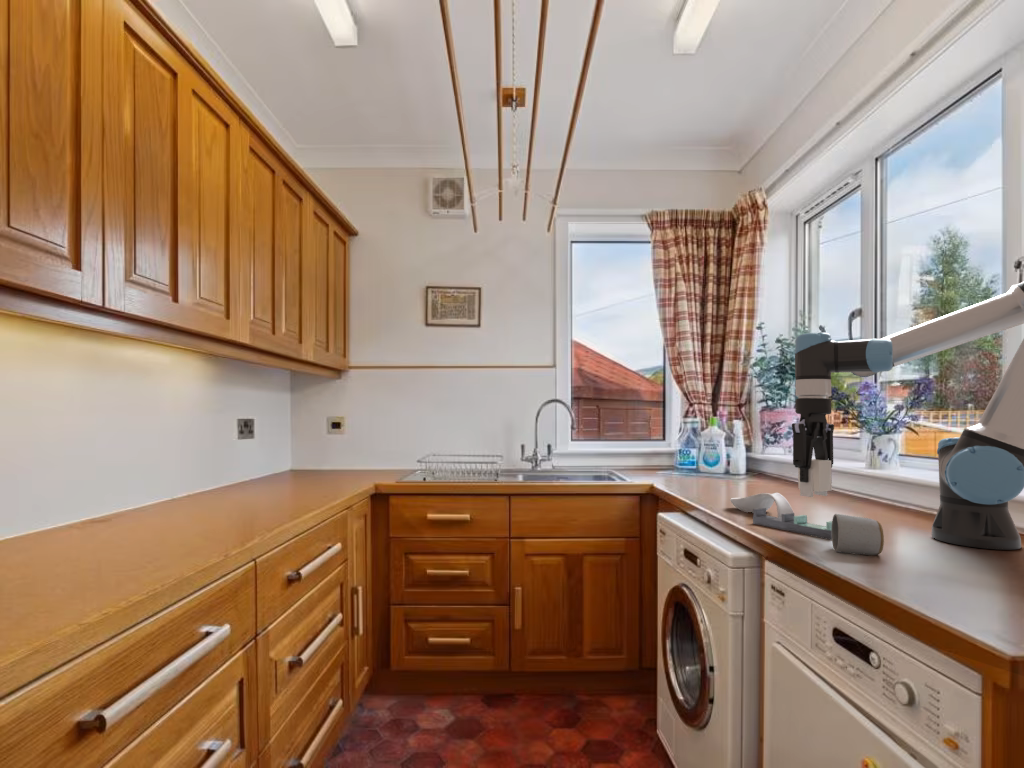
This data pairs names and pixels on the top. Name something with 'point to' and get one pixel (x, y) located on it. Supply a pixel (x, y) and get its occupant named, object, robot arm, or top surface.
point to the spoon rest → (763, 503)
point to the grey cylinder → (857, 535)
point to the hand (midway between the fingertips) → (813, 495)
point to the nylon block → (820, 475)
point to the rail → (792, 523)
